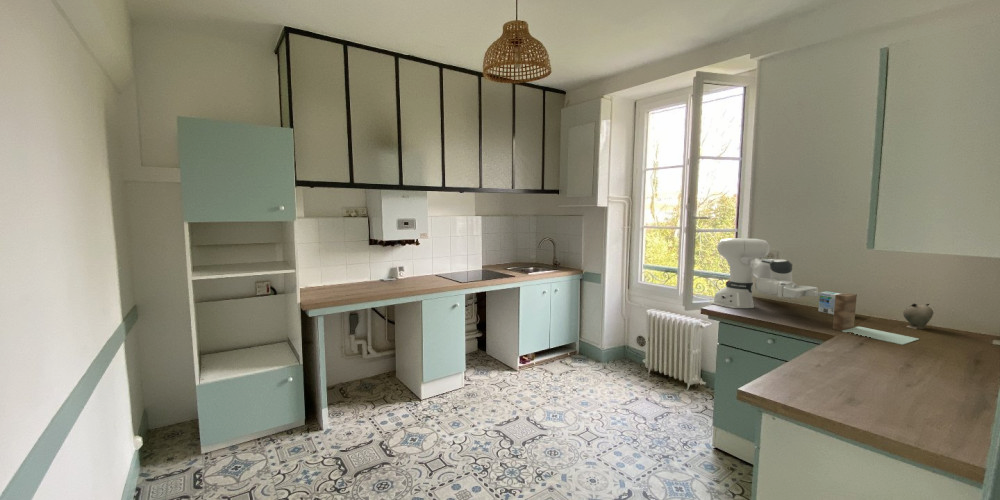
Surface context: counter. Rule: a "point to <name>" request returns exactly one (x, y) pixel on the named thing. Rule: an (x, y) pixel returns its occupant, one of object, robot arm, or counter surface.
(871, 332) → the sage board
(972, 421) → the counter surface
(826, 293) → the light bulb box
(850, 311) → the walnut domino
